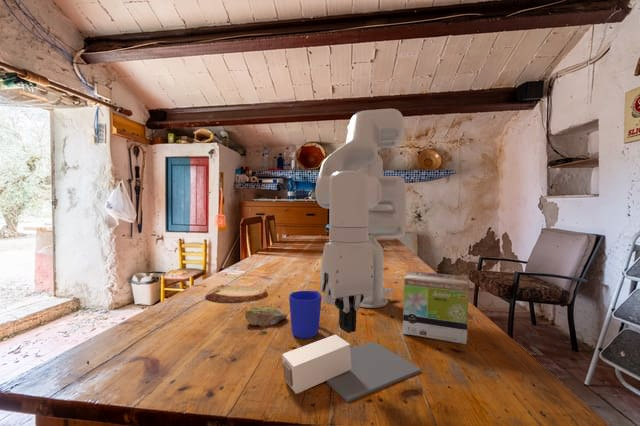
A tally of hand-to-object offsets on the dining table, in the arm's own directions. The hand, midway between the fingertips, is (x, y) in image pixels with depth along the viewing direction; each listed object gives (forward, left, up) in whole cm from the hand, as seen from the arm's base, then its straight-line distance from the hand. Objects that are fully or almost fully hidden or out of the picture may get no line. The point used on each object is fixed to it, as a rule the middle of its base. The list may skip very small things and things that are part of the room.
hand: (347, 329), depth 58 cm
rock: (+3, -34, -9) cm, 35 cm away
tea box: (-31, -4, -9) cm, 32 cm away
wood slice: (+5, -60, -9) cm, 61 cm away
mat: (-4, 0, -9) cm, 9 cm away
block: (0, -2, -5) cm, 5 cm away
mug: (-3, -21, -9) cm, 23 cm away
